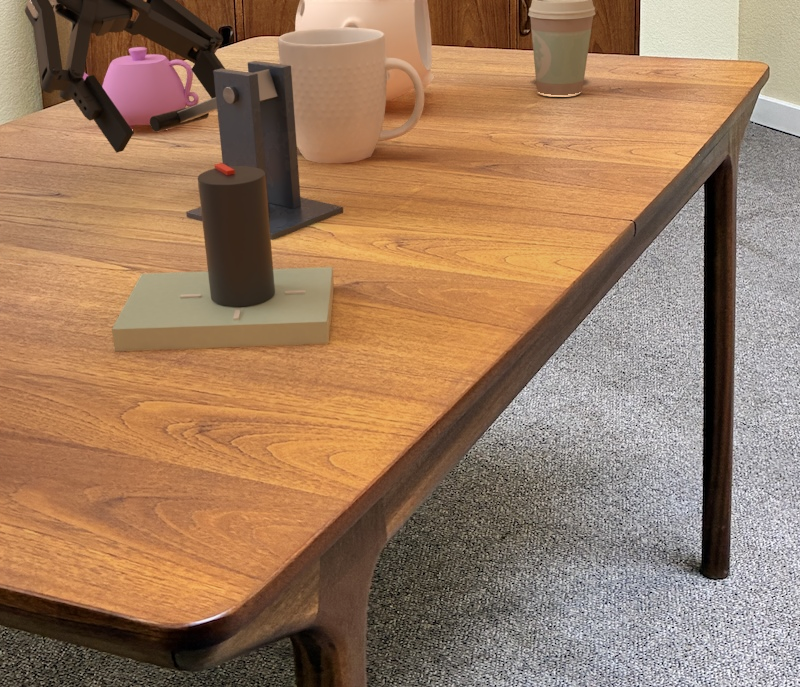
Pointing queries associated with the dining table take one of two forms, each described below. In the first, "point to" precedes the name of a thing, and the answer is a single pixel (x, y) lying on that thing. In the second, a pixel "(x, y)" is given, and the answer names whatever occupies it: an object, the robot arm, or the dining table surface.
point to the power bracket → (265, 144)
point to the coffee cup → (560, 43)
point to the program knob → (237, 235)
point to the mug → (342, 91)
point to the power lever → (208, 107)
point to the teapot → (147, 86)
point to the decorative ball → (389, 13)
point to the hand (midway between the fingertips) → (183, 127)
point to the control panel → (224, 313)
